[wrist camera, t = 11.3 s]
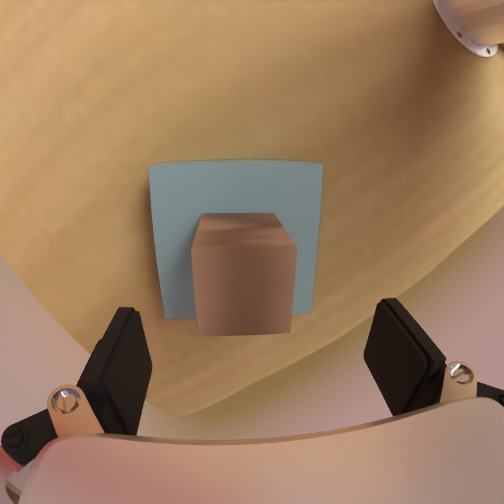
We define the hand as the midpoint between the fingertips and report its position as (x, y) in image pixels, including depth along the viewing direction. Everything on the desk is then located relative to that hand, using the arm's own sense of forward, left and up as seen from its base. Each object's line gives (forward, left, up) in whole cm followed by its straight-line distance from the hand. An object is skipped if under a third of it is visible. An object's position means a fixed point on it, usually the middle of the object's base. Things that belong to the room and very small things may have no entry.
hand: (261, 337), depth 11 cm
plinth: (0, 0, -15) cm, 15 cm away
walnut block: (0, 0, -11) cm, 11 cm away
